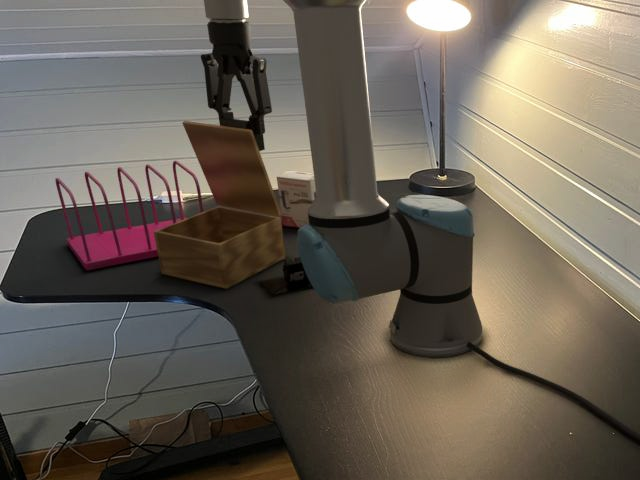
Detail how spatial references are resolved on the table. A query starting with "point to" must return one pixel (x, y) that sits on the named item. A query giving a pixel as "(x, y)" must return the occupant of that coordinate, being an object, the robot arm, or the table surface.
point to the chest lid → (233, 165)
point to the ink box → (296, 197)
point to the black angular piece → (288, 279)
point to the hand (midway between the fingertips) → (245, 148)
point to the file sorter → (125, 241)
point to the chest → (220, 246)
